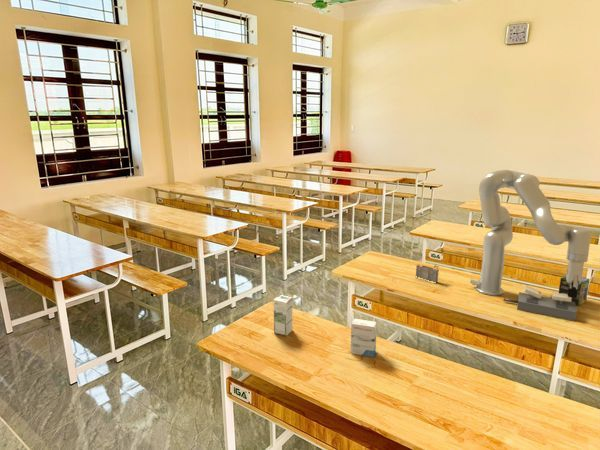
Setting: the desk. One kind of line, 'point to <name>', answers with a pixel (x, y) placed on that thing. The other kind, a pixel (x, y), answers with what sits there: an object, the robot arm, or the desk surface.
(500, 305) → the desk surface
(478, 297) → the desk surface
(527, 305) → the power strip
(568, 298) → the block
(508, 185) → the robot arm
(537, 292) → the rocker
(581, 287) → the chalk box
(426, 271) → the architectural model on board
